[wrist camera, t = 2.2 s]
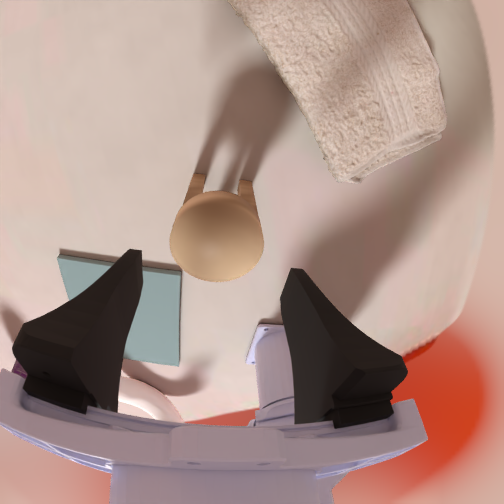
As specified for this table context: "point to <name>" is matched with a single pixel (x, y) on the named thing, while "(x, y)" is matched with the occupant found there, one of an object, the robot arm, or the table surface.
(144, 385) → the banana
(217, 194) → the tan piece
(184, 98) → the table surface
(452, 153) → the table surface
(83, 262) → the mat
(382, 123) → the washcloth
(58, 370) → the robot arm
